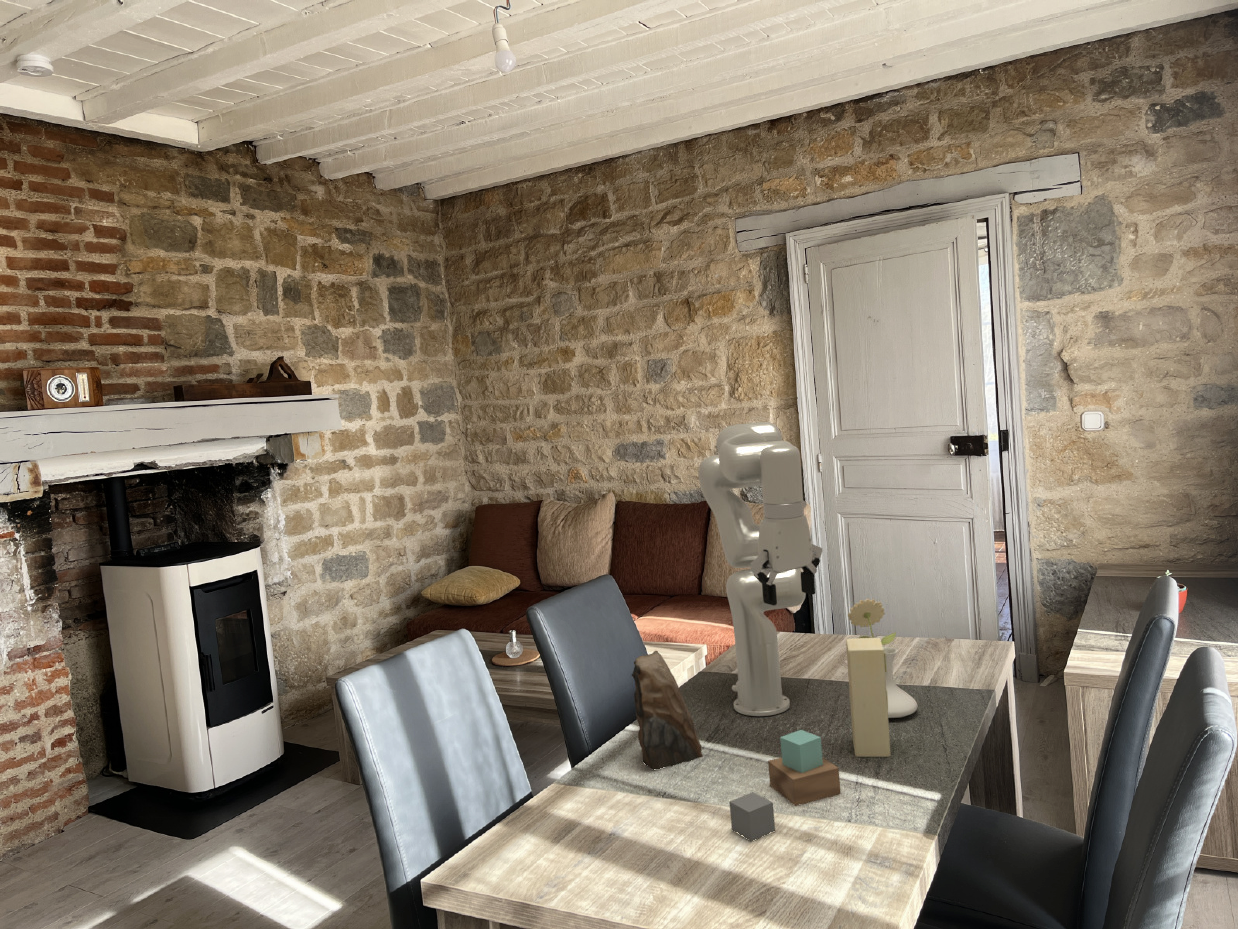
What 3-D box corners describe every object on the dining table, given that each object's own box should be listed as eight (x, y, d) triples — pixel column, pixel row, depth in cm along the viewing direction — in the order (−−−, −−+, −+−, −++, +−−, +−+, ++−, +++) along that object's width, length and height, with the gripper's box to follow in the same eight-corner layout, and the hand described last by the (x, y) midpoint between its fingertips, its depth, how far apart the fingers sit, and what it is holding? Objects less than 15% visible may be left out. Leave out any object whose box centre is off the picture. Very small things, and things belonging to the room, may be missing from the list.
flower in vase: (918, 704, 191) (910, 591, 190) (918, 724, 181) (909, 605, 179) (856, 703, 196) (848, 593, 194) (853, 722, 185) (844, 605, 183)
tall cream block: (895, 757, 166) (887, 648, 164) (855, 757, 167) (847, 650, 166) (891, 740, 174) (883, 637, 172) (852, 741, 175) (844, 638, 174)
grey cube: (731, 831, 144) (729, 801, 144) (755, 821, 147) (752, 792, 146) (751, 842, 140) (748, 812, 140) (775, 832, 142) (772, 802, 142)
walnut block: (770, 787, 159) (768, 760, 159) (813, 776, 162) (811, 750, 161) (795, 807, 150) (793, 779, 150) (840, 795, 153) (838, 768, 153)
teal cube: (782, 764, 157) (780, 737, 156) (803, 756, 159) (801, 729, 159) (801, 773, 152) (799, 745, 152) (823, 764, 155) (820, 737, 154)
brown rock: (649, 774, 169) (639, 672, 168) (620, 753, 180) (611, 658, 179) (705, 757, 174) (696, 659, 173) (674, 737, 186) (665, 645, 184)
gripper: (803, 501, 174) (809, 586, 175) (735, 516, 165) (741, 604, 167) (831, 505, 167) (836, 592, 169) (761, 520, 158) (767, 612, 160)
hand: (789, 598), depth 168 cm, fingers open, 9 cm apart
